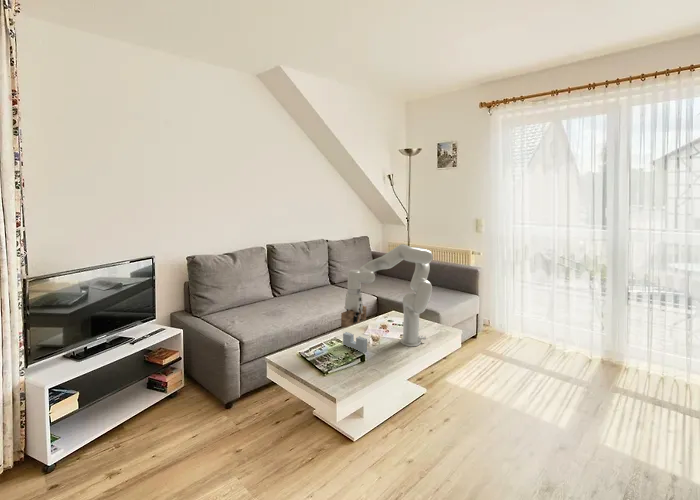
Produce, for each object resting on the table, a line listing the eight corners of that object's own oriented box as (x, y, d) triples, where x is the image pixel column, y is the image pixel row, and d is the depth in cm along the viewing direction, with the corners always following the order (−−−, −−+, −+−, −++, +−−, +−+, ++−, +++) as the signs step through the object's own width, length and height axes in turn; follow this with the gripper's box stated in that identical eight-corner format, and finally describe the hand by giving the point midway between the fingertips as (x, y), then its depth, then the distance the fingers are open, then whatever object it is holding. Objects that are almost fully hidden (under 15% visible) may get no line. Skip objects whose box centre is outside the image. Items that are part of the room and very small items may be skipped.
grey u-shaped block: (343, 345, 237) (343, 333, 235) (346, 344, 239) (346, 331, 238) (363, 353, 227) (363, 340, 225) (366, 351, 229) (367, 338, 227)
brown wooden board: (362, 318, 237) (362, 305, 235) (366, 319, 235) (366, 306, 233) (341, 326, 223) (341, 312, 221) (344, 327, 221) (345, 314, 219)
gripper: (369, 292, 222) (367, 323, 225) (347, 287, 233) (346, 316, 236) (360, 295, 217) (359, 326, 220) (339, 289, 227) (338, 319, 230)
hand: (353, 321), depth 228 cm, fingers closed on brown wooden board, 3 cm apart
